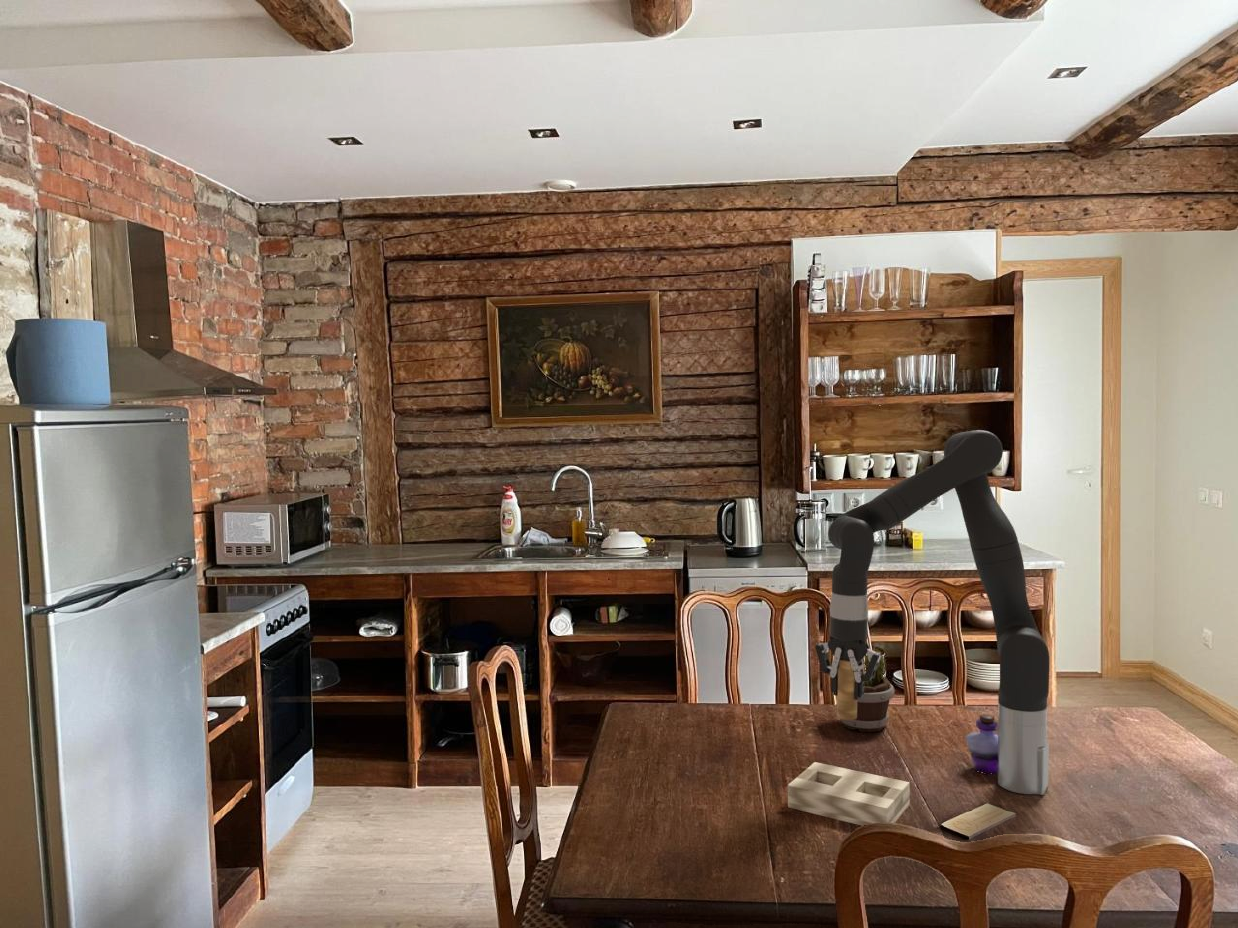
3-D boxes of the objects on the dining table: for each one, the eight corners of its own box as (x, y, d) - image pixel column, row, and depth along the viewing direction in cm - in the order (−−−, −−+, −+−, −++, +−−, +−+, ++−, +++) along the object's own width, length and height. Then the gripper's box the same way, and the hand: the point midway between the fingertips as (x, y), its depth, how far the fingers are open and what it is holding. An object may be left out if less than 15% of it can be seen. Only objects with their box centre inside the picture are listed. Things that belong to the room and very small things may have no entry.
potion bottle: (1010, 779, 191) (1010, 724, 190) (966, 775, 193) (966, 720, 193) (1006, 764, 199) (1006, 711, 198) (964, 760, 202) (965, 707, 201)
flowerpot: (853, 739, 216) (853, 657, 214) (822, 718, 230) (822, 641, 229) (906, 732, 219) (906, 651, 218) (873, 712, 234) (872, 637, 233)
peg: (859, 715, 186) (861, 658, 185) (852, 721, 183) (853, 663, 182) (841, 711, 188) (842, 655, 187) (833, 717, 185) (835, 659, 184)
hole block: (909, 804, 180) (909, 782, 180) (887, 831, 168) (887, 808, 168) (814, 782, 191) (814, 761, 191) (787, 806, 180) (787, 784, 179)
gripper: (889, 616, 183) (887, 698, 184) (823, 606, 191) (821, 685, 192) (876, 623, 177) (874, 708, 178) (808, 613, 185) (807, 694, 186)
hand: (847, 696), depth 185 cm, fingers closed on peg, 4 cm apart
